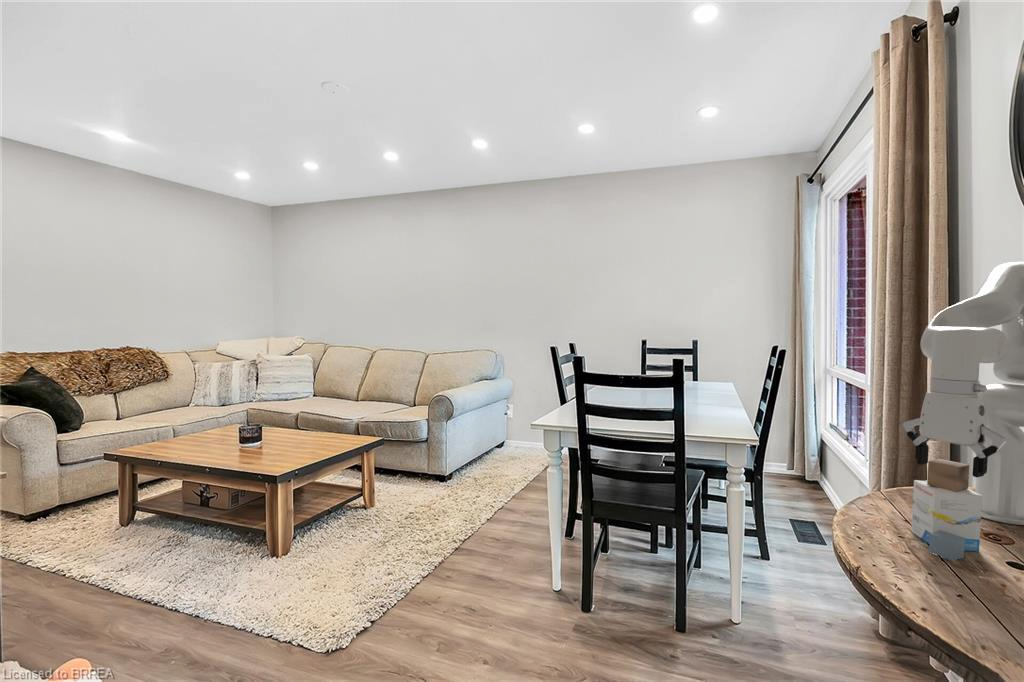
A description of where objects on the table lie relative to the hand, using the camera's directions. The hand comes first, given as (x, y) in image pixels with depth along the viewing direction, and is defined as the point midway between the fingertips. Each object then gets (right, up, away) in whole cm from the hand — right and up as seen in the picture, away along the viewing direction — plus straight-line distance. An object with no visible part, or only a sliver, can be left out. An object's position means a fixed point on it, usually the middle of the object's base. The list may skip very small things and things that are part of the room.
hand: (949, 469), depth 108 cm
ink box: (0, -15, +1) cm, 15 cm away
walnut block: (0, -4, 0) cm, 4 cm away
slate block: (-6, -15, -6) cm, 17 cm away
